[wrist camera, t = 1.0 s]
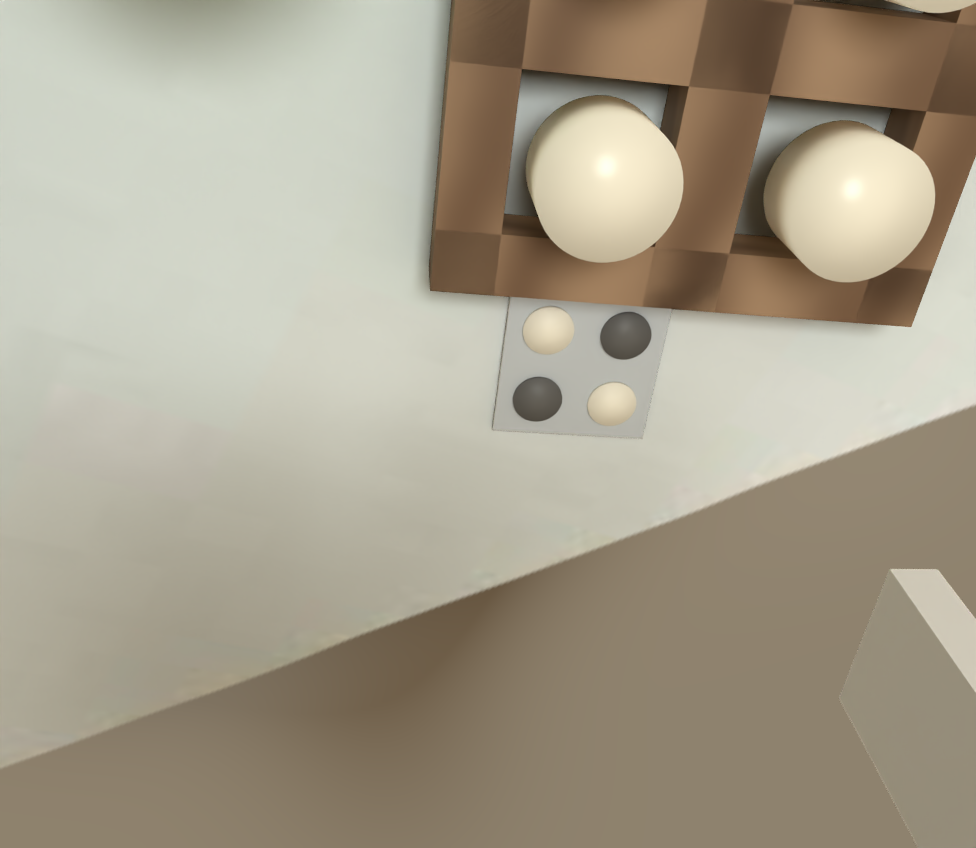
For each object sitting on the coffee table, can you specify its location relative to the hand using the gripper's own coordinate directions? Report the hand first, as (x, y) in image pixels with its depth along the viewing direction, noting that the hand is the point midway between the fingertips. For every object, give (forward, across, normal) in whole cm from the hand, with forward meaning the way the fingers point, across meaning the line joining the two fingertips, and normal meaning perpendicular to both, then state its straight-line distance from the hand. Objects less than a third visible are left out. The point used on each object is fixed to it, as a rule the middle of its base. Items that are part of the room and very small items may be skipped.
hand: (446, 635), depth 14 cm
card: (+26, +8, -9) cm, 29 cm away
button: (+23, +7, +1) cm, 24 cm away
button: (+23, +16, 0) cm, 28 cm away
